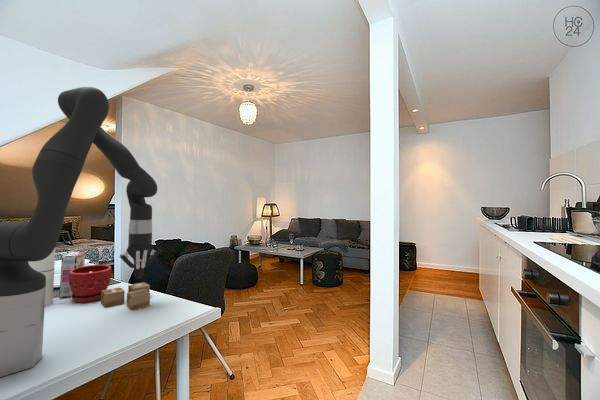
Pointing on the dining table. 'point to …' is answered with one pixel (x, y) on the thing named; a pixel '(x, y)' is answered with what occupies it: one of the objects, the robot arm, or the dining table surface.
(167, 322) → the dining table surface
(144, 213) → the robot arm
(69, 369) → the dining table surface
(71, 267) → the candy bar box
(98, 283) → the plant pot
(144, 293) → the plain walnut block
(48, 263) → the cylindrical container
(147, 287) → the cube with circle marking
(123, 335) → the dining table surface
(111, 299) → the marked walnut block bar
